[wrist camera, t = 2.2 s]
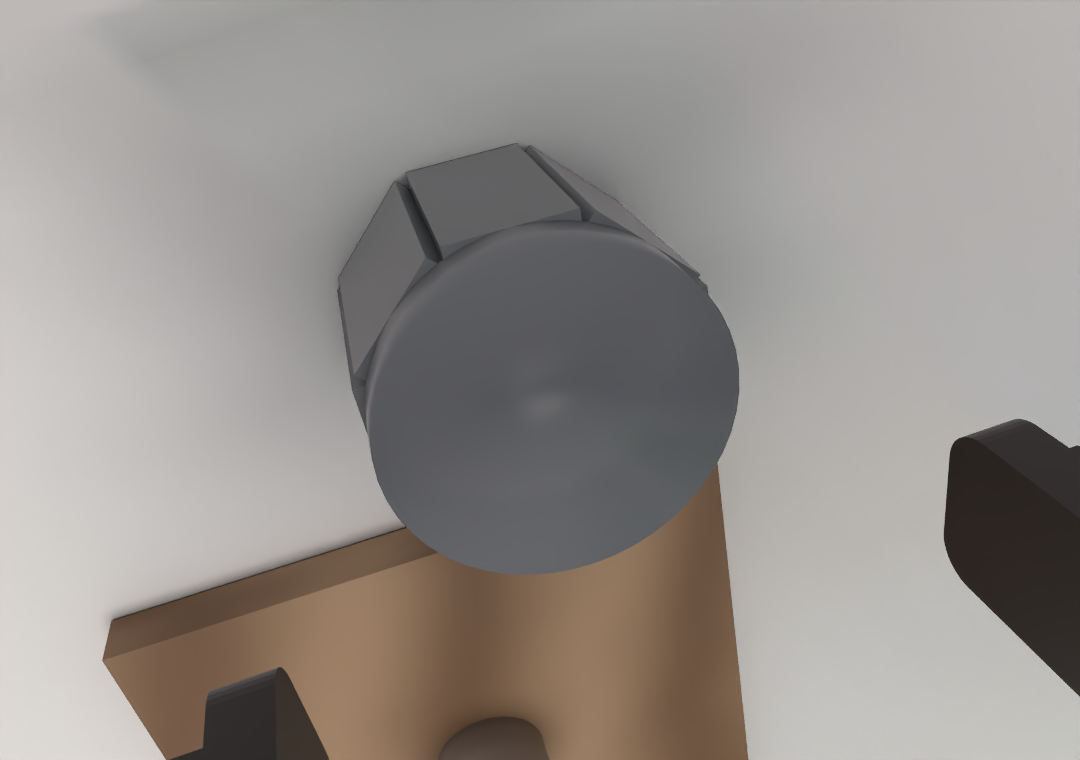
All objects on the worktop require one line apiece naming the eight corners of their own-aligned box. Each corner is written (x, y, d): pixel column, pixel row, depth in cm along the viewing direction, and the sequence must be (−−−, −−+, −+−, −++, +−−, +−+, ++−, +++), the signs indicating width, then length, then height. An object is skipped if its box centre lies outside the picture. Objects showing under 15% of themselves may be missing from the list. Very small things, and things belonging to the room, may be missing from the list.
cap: (609, 119, 17) (723, 194, 13) (647, 378, 20) (750, 511, 16) (306, 198, 16) (316, 308, 12) (393, 455, 20) (426, 618, 15)
